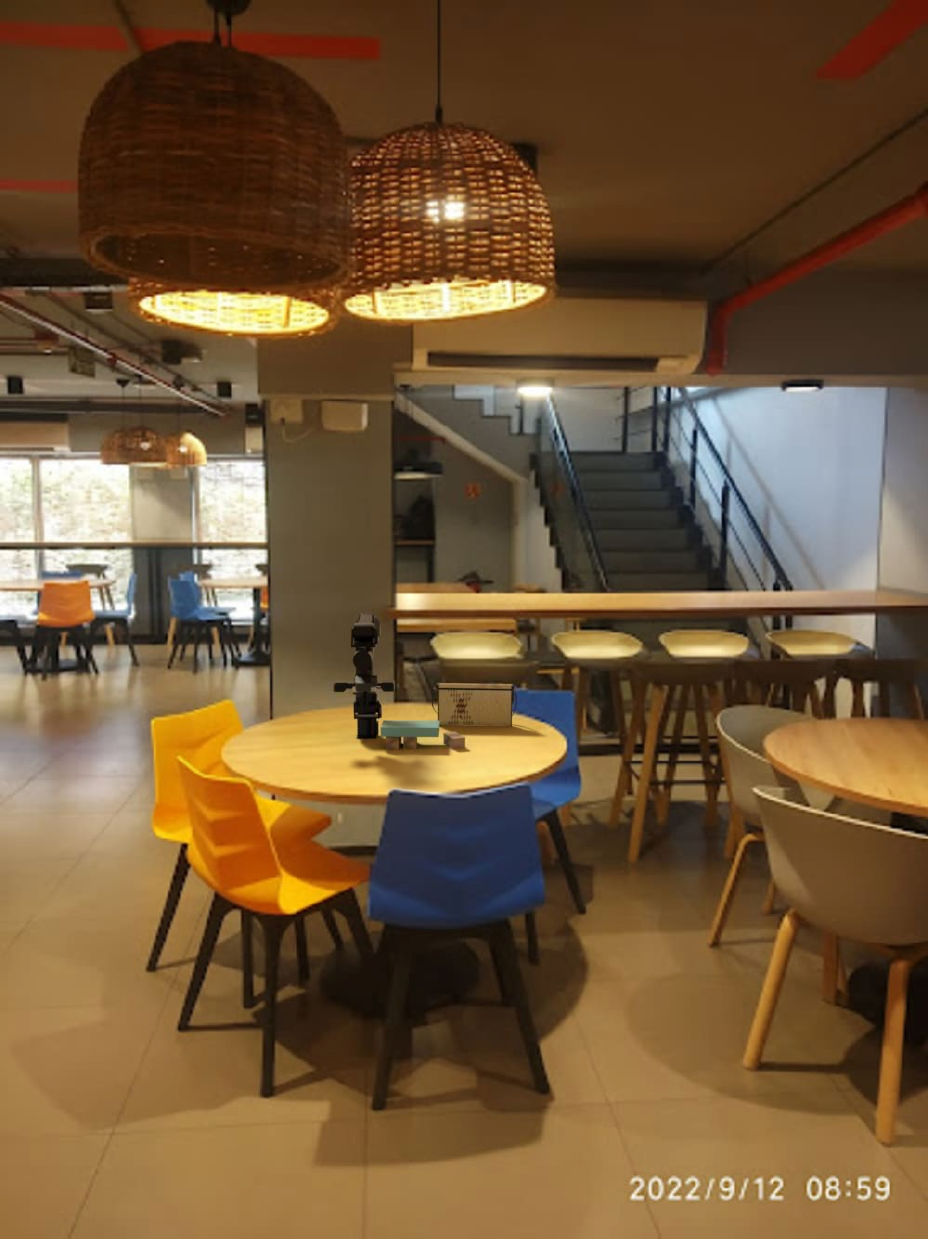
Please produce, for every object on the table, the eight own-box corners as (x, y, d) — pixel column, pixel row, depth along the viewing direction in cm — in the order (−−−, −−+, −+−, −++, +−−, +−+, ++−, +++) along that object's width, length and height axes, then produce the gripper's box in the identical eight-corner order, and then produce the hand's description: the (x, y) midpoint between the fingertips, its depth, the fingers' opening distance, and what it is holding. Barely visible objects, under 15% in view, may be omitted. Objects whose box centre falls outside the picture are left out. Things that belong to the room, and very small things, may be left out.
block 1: (385, 750, 277) (385, 737, 277) (389, 743, 285) (388, 731, 285) (398, 750, 277) (398, 738, 277) (401, 743, 285) (401, 731, 285)
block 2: (403, 749, 278) (403, 736, 278) (404, 742, 286) (404, 730, 286) (415, 749, 278) (415, 736, 278) (417, 742, 286) (417, 730, 286)
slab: (380, 736, 278) (380, 727, 277) (383, 729, 287) (383, 720, 286) (438, 737, 278) (438, 727, 277) (439, 729, 287) (439, 720, 286)
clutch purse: (516, 722, 313) (517, 680, 311) (517, 727, 306) (517, 685, 304) (432, 721, 314) (432, 679, 312) (430, 726, 307) (430, 683, 305)
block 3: (443, 744, 285) (443, 732, 285) (454, 742, 287) (455, 731, 286) (453, 750, 278) (453, 738, 277) (464, 749, 280) (464, 737, 279)
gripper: (331, 668, 269) (332, 719, 271) (393, 668, 270) (394, 718, 272) (335, 662, 280) (335, 710, 282) (394, 661, 281) (394, 710, 283)
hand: (364, 712), depth 279 cm, fingers closed
